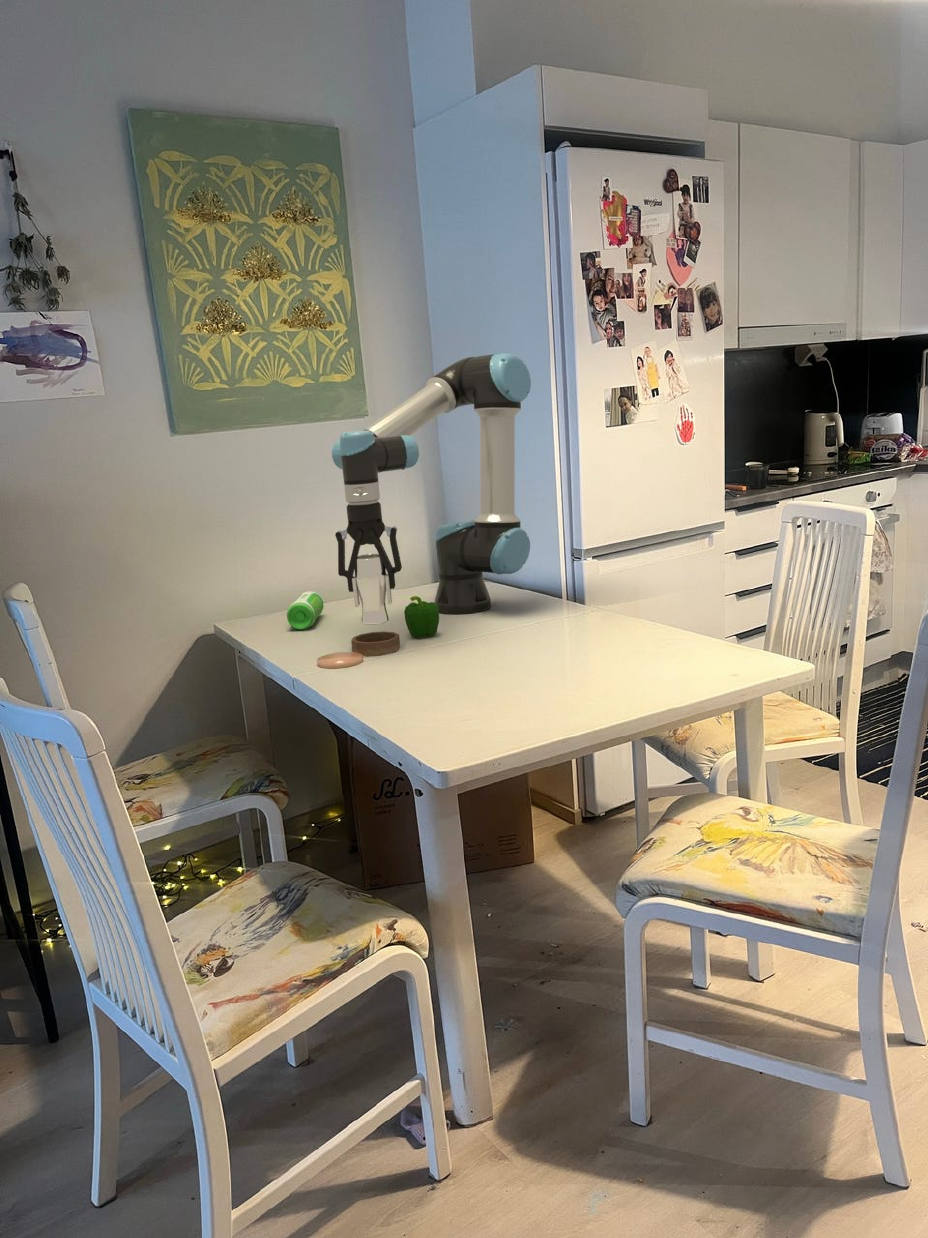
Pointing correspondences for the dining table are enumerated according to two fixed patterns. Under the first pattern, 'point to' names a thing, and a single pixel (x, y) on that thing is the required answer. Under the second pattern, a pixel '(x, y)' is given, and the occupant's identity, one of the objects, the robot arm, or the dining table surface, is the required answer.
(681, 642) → the dining table surface
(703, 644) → the dining table surface
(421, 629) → the bell pepper
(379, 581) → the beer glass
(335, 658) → the pinkish-brown smooth disc
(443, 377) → the robot arm
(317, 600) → the speaker
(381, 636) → the walnut collar
